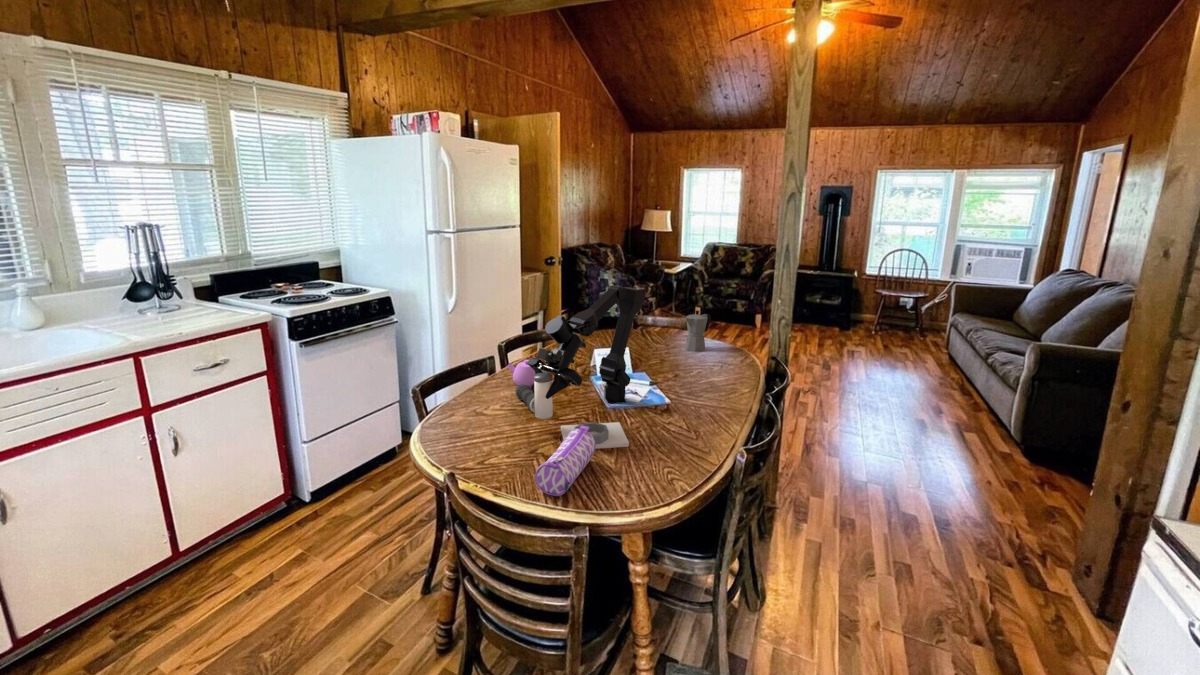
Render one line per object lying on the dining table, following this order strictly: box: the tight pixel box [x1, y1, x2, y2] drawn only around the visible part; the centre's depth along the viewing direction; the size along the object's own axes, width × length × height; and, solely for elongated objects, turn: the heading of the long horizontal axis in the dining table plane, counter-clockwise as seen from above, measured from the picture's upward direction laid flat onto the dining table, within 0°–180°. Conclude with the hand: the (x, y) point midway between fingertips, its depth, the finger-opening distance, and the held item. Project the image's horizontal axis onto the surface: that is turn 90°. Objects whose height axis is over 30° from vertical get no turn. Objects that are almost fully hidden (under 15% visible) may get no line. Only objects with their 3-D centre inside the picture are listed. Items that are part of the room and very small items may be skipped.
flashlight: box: [515, 384, 535, 414], centre depth 183 cm, size 15×5×5 cm, turn 29°
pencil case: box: [534, 426, 596, 497], centre depth 138 cm, size 22×9×10 cm, turn 162°
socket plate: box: [560, 421, 630, 450], centre depth 160 cm, size 18×14×4 cm
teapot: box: [507, 359, 535, 389], centre depth 202 cm, size 10×15×9 cm
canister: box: [533, 372, 553, 420], centre depth 162 cm, size 5×5×12 cm
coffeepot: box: [684, 310, 712, 353], centre depth 248 cm, size 15×9×18 cm, turn 125°
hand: (539, 395), depth 160 cm, fingers closed on canister, 5 cm apart
